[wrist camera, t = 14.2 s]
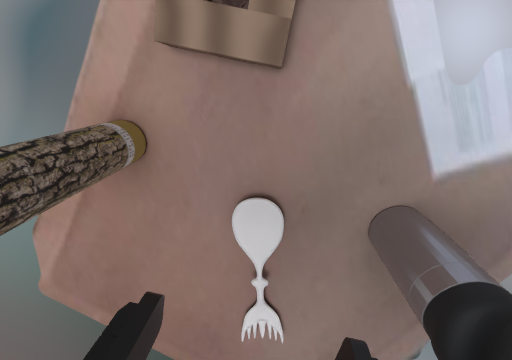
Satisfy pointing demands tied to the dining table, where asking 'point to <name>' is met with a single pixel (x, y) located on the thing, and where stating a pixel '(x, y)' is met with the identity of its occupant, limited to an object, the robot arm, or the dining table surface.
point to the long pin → (234, 3)
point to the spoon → (259, 255)
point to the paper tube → (62, 167)
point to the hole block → (227, 28)
